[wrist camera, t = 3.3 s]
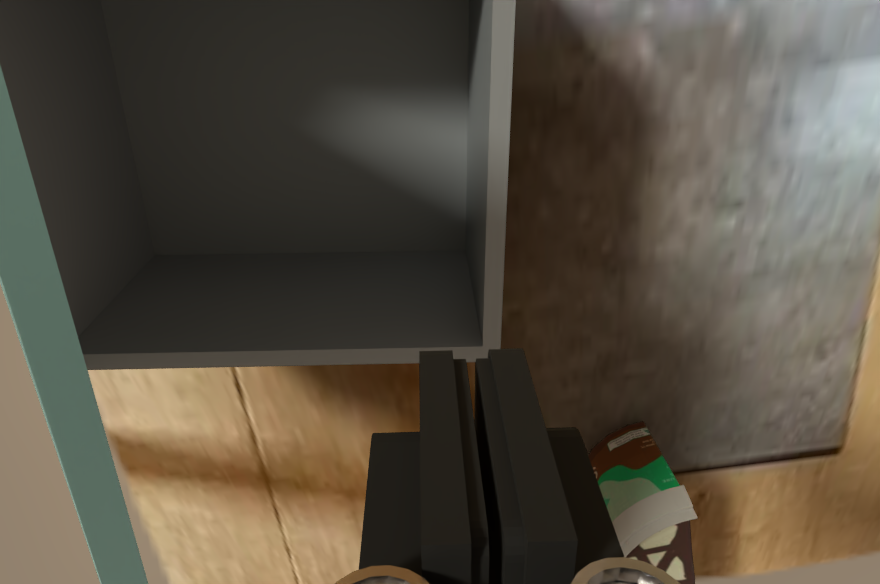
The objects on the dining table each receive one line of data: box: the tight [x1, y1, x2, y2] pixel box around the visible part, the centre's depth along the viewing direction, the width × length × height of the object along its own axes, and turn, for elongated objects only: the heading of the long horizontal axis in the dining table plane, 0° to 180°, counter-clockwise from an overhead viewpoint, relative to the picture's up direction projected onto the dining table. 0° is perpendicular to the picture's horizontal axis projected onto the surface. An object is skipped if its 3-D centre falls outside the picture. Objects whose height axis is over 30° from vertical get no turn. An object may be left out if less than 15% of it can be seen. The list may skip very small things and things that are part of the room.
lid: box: [0, 66, 148, 584], centre depth 17 cm, size 21×19×1 cm
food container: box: [588, 421, 698, 584], centre depth 44 cm, size 12×6×10 cm, turn 12°
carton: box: [0, 0, 516, 370], centre depth 30 cm, size 20×18×12 cm
